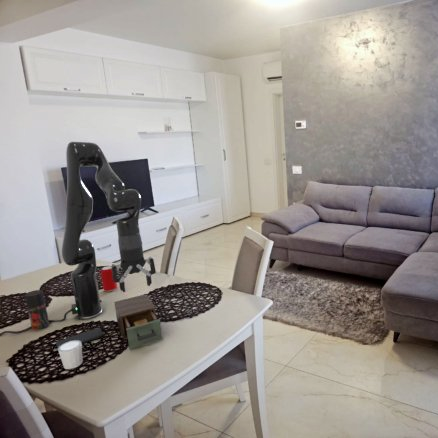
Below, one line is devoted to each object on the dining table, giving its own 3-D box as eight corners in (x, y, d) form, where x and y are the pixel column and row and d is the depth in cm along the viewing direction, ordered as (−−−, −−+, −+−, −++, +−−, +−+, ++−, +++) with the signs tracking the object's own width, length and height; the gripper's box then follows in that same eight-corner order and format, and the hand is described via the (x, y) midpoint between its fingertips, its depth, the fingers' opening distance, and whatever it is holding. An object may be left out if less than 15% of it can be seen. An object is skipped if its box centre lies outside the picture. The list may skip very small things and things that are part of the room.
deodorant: (52, 324, 150) (46, 290, 146) (38, 331, 144) (31, 296, 141) (42, 322, 152) (35, 289, 148) (28, 329, 146) (21, 295, 143)
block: (137, 337, 133) (136, 327, 132) (135, 332, 137) (133, 322, 136) (149, 334, 136) (148, 323, 135) (147, 329, 139) (145, 318, 138)
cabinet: (157, 329, 143) (155, 307, 141) (123, 339, 136) (120, 316, 134) (149, 314, 155) (146, 293, 153) (117, 323, 149) (114, 301, 147)
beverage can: (119, 288, 184) (116, 266, 181) (108, 293, 179) (104, 270, 176) (112, 286, 187) (109, 264, 184) (101, 291, 182) (97, 268, 179)
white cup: (68, 358, 125) (64, 340, 124) (88, 357, 126) (85, 339, 124) (57, 371, 118) (53, 352, 117) (78, 369, 119) (75, 350, 117)
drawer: (165, 344, 130) (163, 324, 129) (131, 355, 124) (128, 335, 123) (153, 323, 146) (151, 305, 144) (123, 332, 140) (120, 314, 138)
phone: (55, 341, 135) (99, 327, 144) (55, 343, 135) (99, 329, 144) (58, 350, 129) (103, 334, 138) (59, 352, 129) (104, 336, 139)
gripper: (149, 240, 135) (154, 280, 138) (107, 247, 127) (113, 289, 131) (153, 244, 128) (159, 286, 132) (110, 252, 121) (116, 297, 124)
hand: (136, 288), depth 131 cm, fingers open, 8 cm apart
